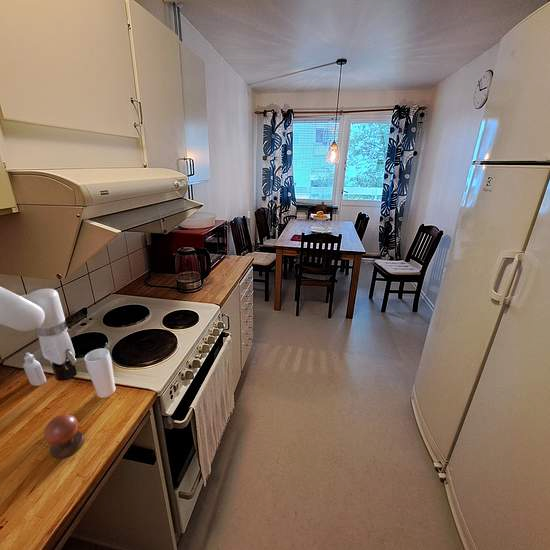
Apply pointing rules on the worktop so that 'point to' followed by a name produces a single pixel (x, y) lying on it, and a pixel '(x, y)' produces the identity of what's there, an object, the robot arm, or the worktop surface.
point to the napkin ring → (59, 371)
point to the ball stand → (63, 436)
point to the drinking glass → (101, 371)
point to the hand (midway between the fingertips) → (65, 373)
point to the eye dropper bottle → (33, 370)
